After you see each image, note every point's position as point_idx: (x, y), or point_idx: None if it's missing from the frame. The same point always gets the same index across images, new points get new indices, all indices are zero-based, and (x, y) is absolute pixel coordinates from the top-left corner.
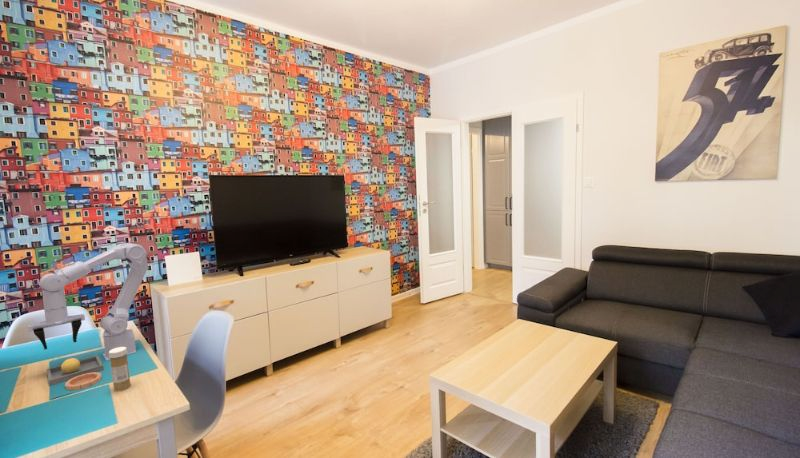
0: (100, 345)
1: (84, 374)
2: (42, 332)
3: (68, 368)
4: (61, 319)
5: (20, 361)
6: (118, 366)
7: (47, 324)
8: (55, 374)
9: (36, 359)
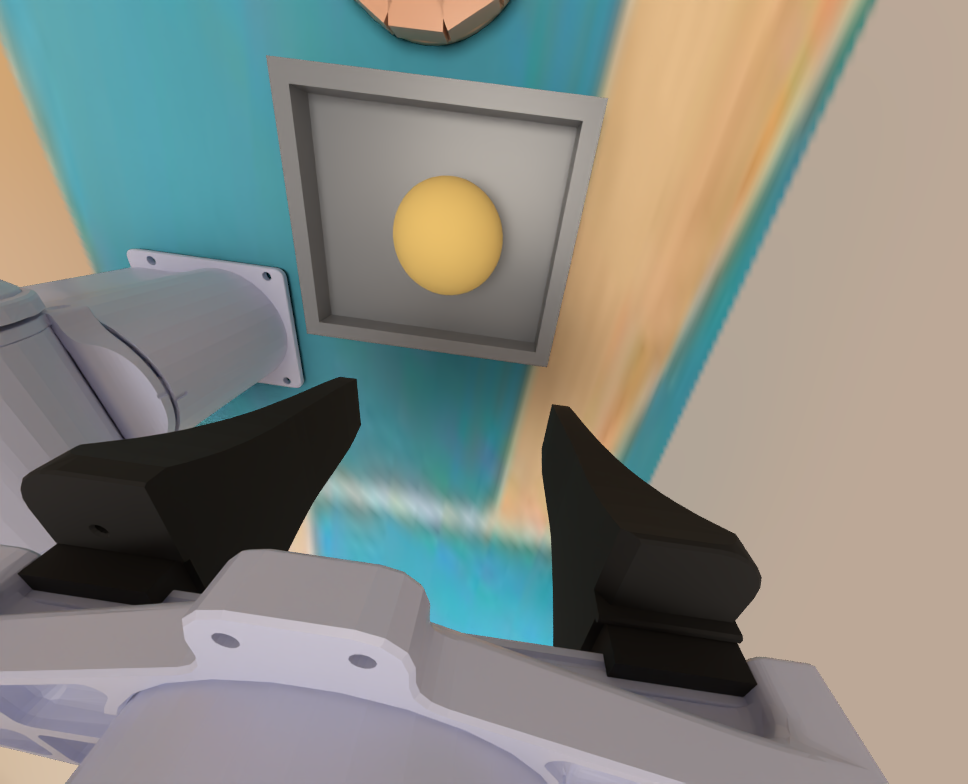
0: (316, 510)
1: (398, 4)
2: (648, 532)
3: (469, 182)
4: (174, 752)
5: None
6: None
7: (567, 711)
8: (524, 292)
9: (521, 561)
